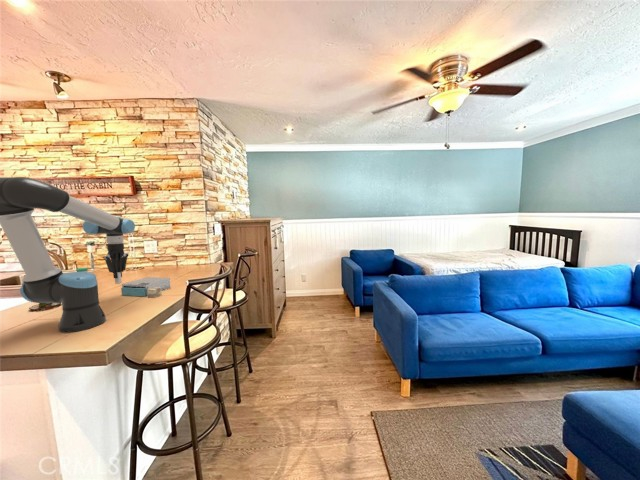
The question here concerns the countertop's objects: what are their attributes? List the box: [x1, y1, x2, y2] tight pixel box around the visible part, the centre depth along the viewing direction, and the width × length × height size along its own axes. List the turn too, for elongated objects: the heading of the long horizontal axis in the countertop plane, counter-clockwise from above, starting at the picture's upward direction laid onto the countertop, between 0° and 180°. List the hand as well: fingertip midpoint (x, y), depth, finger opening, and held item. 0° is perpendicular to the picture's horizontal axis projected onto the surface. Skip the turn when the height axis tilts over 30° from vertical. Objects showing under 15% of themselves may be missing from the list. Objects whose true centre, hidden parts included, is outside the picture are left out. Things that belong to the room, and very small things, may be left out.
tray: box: [120, 286, 147, 298], centre depth 158 cm, size 17×17×5 cm
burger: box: [28, 303, 62, 313], centre depth 133 cm, size 12×12×8 cm
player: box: [121, 276, 171, 297], centre depth 160 cm, size 18×18×7 cm
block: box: [147, 287, 163, 299], centre depth 149 cm, size 5×5×5 cm
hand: (118, 283), depth 144 cm, fingers closed
